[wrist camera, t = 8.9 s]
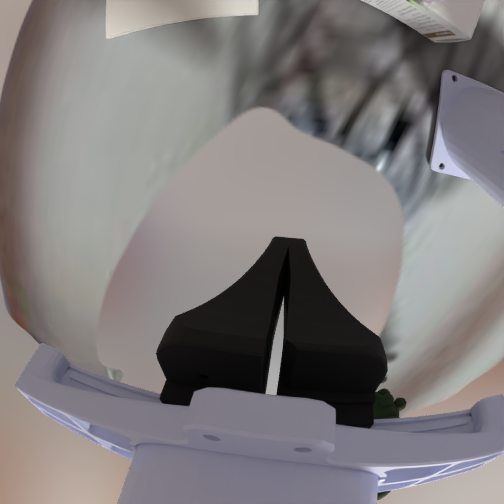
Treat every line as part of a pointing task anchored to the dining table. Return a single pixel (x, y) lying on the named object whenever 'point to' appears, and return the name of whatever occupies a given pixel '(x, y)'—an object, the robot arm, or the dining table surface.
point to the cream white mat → (169, 12)
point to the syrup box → (435, 17)
